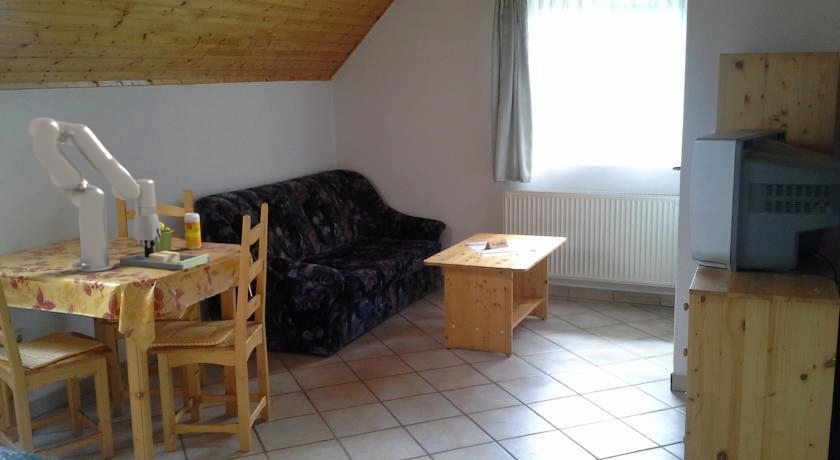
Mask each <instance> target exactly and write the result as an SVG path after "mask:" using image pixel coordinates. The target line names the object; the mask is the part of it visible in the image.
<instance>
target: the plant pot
mask: <svg viewBox="0 0 840 460" xmlns="http://www.w3.org/2000/svg"><path fill="white" fill-rule="evenodd" d="M160 231H161V237H160V238H159V239H160V242H159V243H156V244H155V246H154V247H153V248H154V252H162V251H170V252H171V249H172V248H171V247H172V236H173V233H174V229H170V228H169V229H165V228H164V229H161V230H160Z"/></svg>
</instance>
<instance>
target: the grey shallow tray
mask: <svg viewBox="0 0 840 460" xmlns="http://www.w3.org/2000/svg"><path fill="white" fill-rule="evenodd" d="M154 253H158V252H155V251H154ZM179 254H180V262H178V263H165V262H155V261H149V258H147V257H145V252H142V253H138V254H133V255H129V256H126V257H123V258H119V265H127V266H135V267H137V266H138V267H147V268H157V269H158V268H159V269H165V270H166V269H168V270H176V271H184V270H186V269H189V268H193V267H196V266H200V265H203V264H206V263H209V262H210V253H205V254H202V255H197V254H195V255H194V254H185V253H179Z"/></svg>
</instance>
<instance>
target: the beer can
mask: <svg viewBox="0 0 840 460" xmlns="http://www.w3.org/2000/svg"><path fill="white" fill-rule="evenodd" d="M200 220H201V219H200V214H199V213H197V212H189V213H185V215H184V230H185V246H186V248H187V250H199V249H200V248H201V247H202V238H201V237H202V236H201V221H200Z"/></svg>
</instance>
